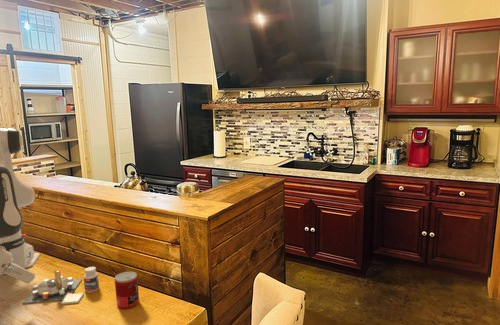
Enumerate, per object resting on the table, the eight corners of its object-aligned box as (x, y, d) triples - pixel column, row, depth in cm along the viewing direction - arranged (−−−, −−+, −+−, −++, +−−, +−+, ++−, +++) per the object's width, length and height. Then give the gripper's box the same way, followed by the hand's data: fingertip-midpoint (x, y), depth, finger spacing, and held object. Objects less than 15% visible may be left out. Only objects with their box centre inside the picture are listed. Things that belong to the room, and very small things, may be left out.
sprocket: (42, 282, 147) (39, 261, 146) (79, 279, 149) (77, 259, 148) (24, 300, 133) (21, 278, 131) (66, 297, 134) (63, 274, 133)
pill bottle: (83, 293, 139) (81, 272, 137) (86, 287, 144) (84, 267, 142) (98, 291, 140) (96, 270, 139) (100, 285, 145) (98, 265, 144)
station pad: (67, 296, 137) (67, 294, 137) (83, 294, 138) (83, 293, 137) (61, 304, 131) (61, 302, 131) (78, 303, 132) (78, 301, 132)
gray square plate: (41, 283, 148) (41, 282, 148) (83, 280, 150) (82, 278, 150) (22, 304, 132) (22, 302, 132) (68, 300, 134) (68, 298, 134)
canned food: (132, 310, 126) (130, 281, 124) (112, 308, 127) (109, 280, 126) (143, 299, 133) (141, 271, 131) (124, 297, 135) (121, 270, 133)
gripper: (16, 260, 115) (51, 276, 124) (-7, 248, 127) (25, 264, 136) (3, 278, 112) (39, 294, 121) (-20, 264, 124) (14, 279, 133)
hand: (31, 278), depth 129 cm, fingers closed
